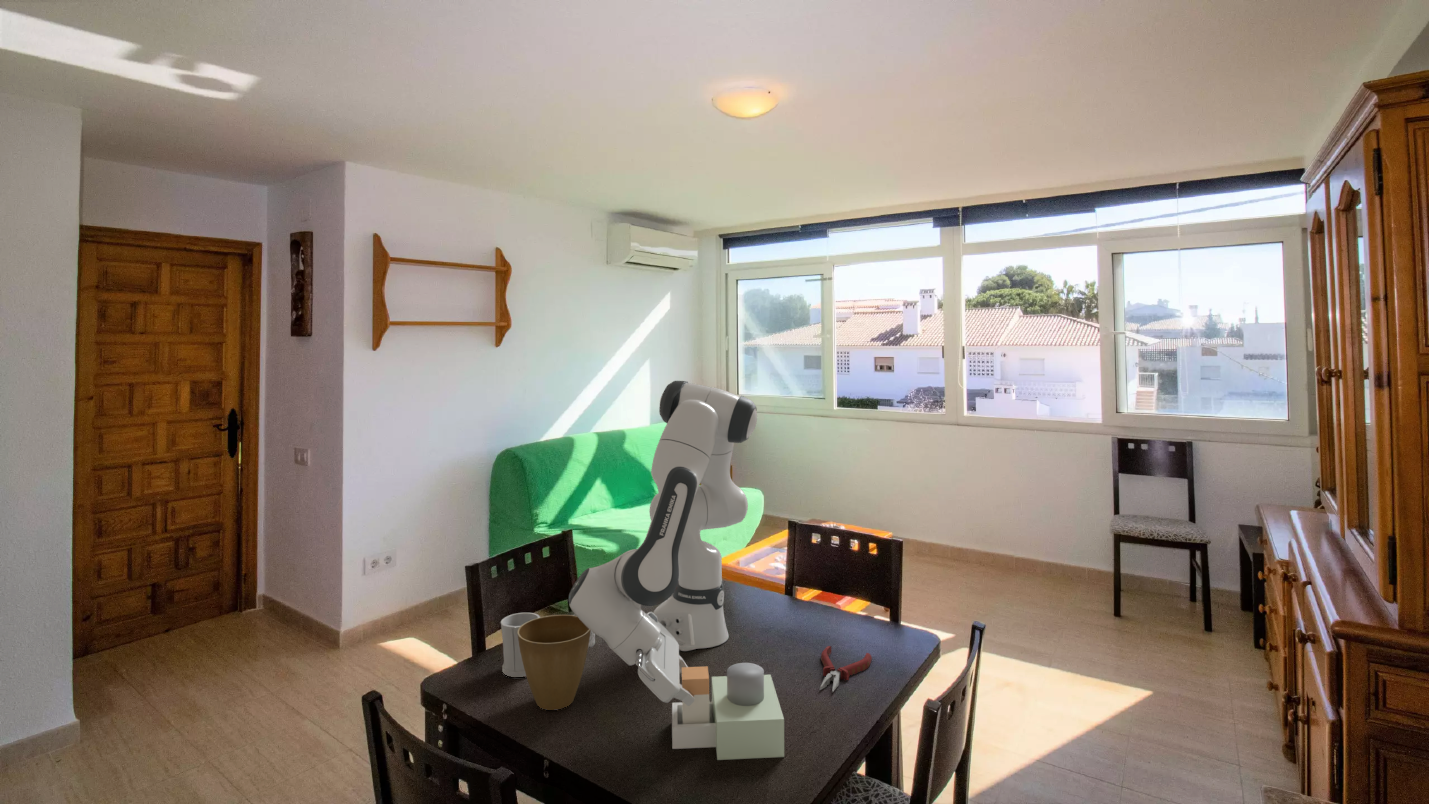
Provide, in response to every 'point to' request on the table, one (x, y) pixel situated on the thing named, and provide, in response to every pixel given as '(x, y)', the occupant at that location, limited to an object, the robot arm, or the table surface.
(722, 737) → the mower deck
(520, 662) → the cup
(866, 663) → the pliers
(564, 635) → the plant pot
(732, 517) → the robot arm
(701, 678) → the two-tone orange block
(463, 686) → the table surface
